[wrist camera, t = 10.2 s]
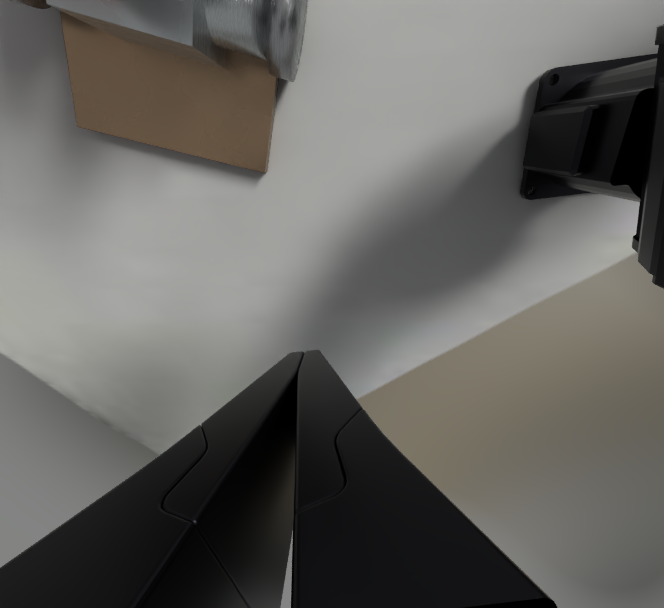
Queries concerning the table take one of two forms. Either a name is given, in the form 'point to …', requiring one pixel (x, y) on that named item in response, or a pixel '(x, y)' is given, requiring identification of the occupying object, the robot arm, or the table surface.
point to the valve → (182, 71)
